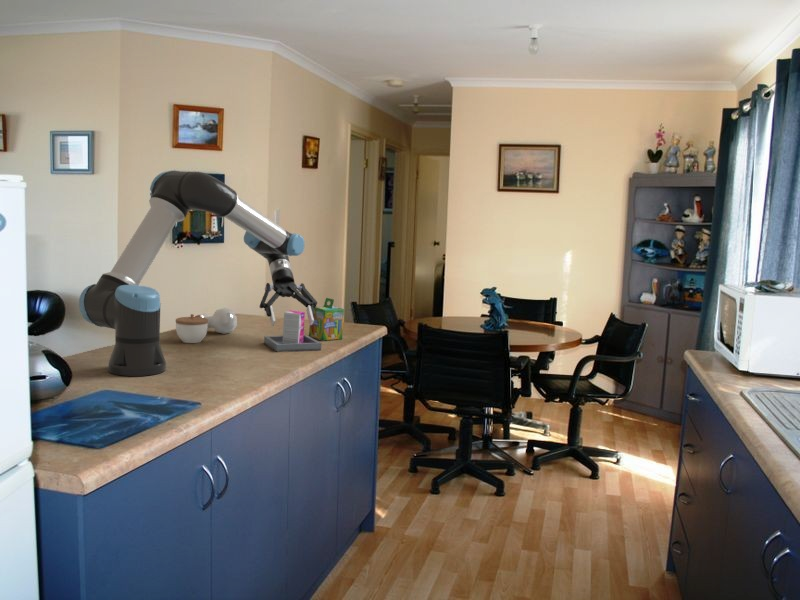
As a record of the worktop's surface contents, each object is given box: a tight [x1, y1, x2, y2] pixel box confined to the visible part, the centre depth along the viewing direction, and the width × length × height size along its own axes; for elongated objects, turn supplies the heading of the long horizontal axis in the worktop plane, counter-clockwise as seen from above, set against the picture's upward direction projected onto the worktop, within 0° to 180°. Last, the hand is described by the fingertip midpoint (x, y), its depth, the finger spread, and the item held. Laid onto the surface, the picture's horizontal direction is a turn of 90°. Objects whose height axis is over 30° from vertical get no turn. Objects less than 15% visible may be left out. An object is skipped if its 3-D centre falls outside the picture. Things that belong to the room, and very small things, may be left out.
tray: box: [263, 334, 322, 353], centre depth 250 cm, size 15×15×2 cm
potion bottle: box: [194, 307, 238, 335], centre depth 268 cm, size 9×10×15 cm
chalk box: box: [308, 297, 345, 342], centre depth 268 cm, size 9×9×15 cm
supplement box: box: [282, 310, 306, 344], centre depth 250 cm, size 6×6×12 cm
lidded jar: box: [175, 313, 209, 344], centre depth 249 cm, size 11×11×9 cm
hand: (293, 323), depth 249 cm, fingers open, 13 cm apart
